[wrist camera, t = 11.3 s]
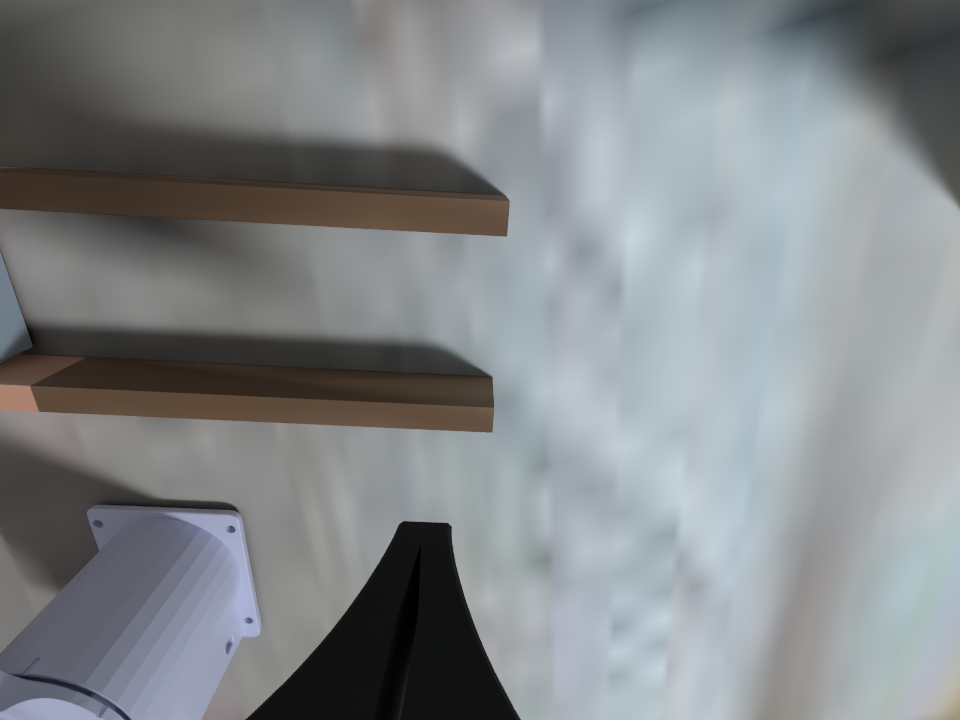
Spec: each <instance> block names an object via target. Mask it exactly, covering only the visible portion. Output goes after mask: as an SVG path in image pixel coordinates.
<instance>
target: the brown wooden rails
mask: <svg viewBox="0 0 960 720" xmlns="http://www.w3.org/2000/svg"><path fill="white" fill-rule="evenodd" d="M509 202H510V201H509V200H508V198H507V197H506V195H494V194H477V193H459V192H442V191H424V190H407V189H389V188H372V187H354V186H337V185H319V184H301V183H284V182H266V181H249V180H231V179H214V178H196V177H179V176H161V175H144V174H126V173H109V172H91V171H74V170H56V169H38V168H21V167H3V166H0V209H19V210H37V211H55V212H73V213H91V214H109V215H127V216H146V217H164V218H182V219H200V220H218V221H236V222H254V223H273V224H291V225H309V226H327V227H345V228H363V229H381V230H399V231H418V232H436V233H454V234H472V235H490V236H507V229H508V215H509ZM0 410H15V411H37V412H59V413H80V414H102V415H124V416H145V417H167V418H189V419H210V420H232V421H254V422H276V423H297V424H319V425H341V426H362V427H384V428H406V429H427V430H449V431H471V432H492V429H493V416H494V397H493V380H492V377H480V376H459V375H439V374H418V373H398V372H377V371H357V370H336V369H316V368H295V367H274V366H254V365H233V364H213V363H192V362H172V361H151V360H131V359H110V358H89V357H69V356H48V355H28V354H20V355H18V356H15V357H13V358H11V359H8V360H6V361H4V362H1V363H0Z"/></svg>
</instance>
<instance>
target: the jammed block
mask: <svg viewBox="0 0 960 720" xmlns="http://www.w3.org/2000/svg"><path fill="white" fill-rule="evenodd" d="M31 347H33V345H32V342H31V339H30V336H29V333H28V330H27V328H26V325H25V322H24V319H23V316H22V313H21V310H20V307H19V304H18V301H17V299H16V296H15V293H14V290H13V287H12V284H11V281H10V278H9V275H8V272H7V270H6V267H5V264H4V261H3V258H2V255H1V252H0V360H3V359H5V358H8V357H10V356H12V355H15V354H17V353H19V352H22V351H24V350H27V349H29V348H31Z"/></svg>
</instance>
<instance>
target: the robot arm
mask: <svg viewBox="0 0 960 720" xmlns="http://www.w3.org/2000/svg"><path fill="white" fill-rule="evenodd" d="M87 517H88V520H89V523H90V526H91V529H92V532H93V535H94V538H95V540H96V543H97V546H98V549H99V552H98V553H97V554H96V555H95V556H94V557H93V558H92V559H91V560H90V561H89V562H88V563H87V564H86V565H85V566H84V567H83V568H82V569H81V570H80V571H79V573H78V574H77V575H76V576H75V577H74V578H73V579H72V580H71V581H70V582H69V583H68V584H67V585H66V586H65V587H64V588H63V589H62V590H61V591H60V592H59V593H58V594H57V595H56V596H55V597H54V598H53V599H52V600H51V601H50V602H49V603H48V604H47V606H46V607H45V608H44V609H43V610H42V611H41V612H40V613H39V614H38V615H37V616H36V617H35V618H34V619H33V620H32V621H31V622H30V623H29V624H28V625H27V626H26V627H25V628H24V629H23V630H22V631H21V632H20V633H19V634H18V636H17V637H15V639H14V640H13V641H12V642H11V643H10V644H9V645H8V646H7V647H6V648H5V649H4V650H3V651H2V652H1V653H0V720H201V719H202V717H203V715H204V713H205V711H206V709H207V707H208V705H209V703H210V701H211V699H212V697H213V695H214V693H215V691H216V689H217V687H218V685H219V683H220V681H221V679H222V677H223V675H224V673H225V671H226V669H227V667H228V665H229V663H230V661H231V659H232V657H233V655H234V653H235V651H236V649H237V647H238V645H239V643H240V641H241V639H242V637H256V636H258V635H259V634H260V632H261V630H262V625H261V620H260V614H259V609H258V604H257V598H256V593H255V587H254V582H253V577H252V571H251V566H250V560H249V555H248V550H247V544H246V539H245V533H244V528H243V523H242V518H241V515H240V514H239V513H238V512H236V511H233V510H214V509H191V508H167V507H143V506H119V505H94V506H92V507H91V508H90V509H89V510H88V511H87ZM231 526H233V527H234V528H233V527H231ZM451 532H452V527H451V526H450V525H449V524H448V523H432V522H407V521H403V522H402V523H400V524H399V526H398V528H397V531H396V533H395V535H394V537H393V539H392V541H391V543H390V545H389V546H388V548H387V550H386V552H385V554H384V555H383V557H382V559H381V561H380V562H379V564H378V565H377V567H376V569H375V570H374V572H373V573H372V575H371V576H370V578H369V580H368V581H367V583H366V584H365V586H364V587H363V589H362V590H361V592H360V593H359V594H358V596H357V597H356V598H355V600H354V601H353V603H352V604H351V605H350V607H349V608H348V610H347V611H346V612H345V614H344V615H343V616H342V618H341V619H340V620H339V622H338V623H337V624H336V625H335V627H334V628H333V629H332V630H331V632H330V633H329V634H328V635H327V636H326V638H325V639H324V640H323V641H322V642H321V644H320V645H319V646H318V647H317V648H316V649H315V650H314V651H313V653H312V654H311V655H310V656H309V657H308V658H307V659H306V660H305V661H304V662H303V664H302V665H301V666H300V667H299V668H298V669H297V670H296V671H295V672H294V673H293V674H292V675H291V676H290V677H289V678H288V679H287V680H286V682H285V683H284V684H283V685H281V686H280V687H279V688H278V689H277V690H276V691H275V692H274V693H273V694H272V695H271V696H270V697H269V698H268V699H267V700H266V701H265V702H264V703H263V704H262V705H261V706H260V707H259V708H258V709H256V710H255V711H254V712H253V713H252V714H251V715H250V716H249V717H248V718H247V719H246V720H521V719H520V718H519V716H518V714H517V713H516V711H515V709H514V707H513V705H512V704H511V702H510V700H509V698H508V696H507V694H506V692H505V690H504V689H503V687H502V685H501V683H500V681H499V679H498V677H497V675H496V673H495V671H494V669H493V667H492V665H491V663H490V661H489V658H488V656H487V654H486V652H485V649H484V647H483V645H482V642H481V640H480V638H479V635H478V633H477V630H476V628H475V625H474V623H473V620H472V617H471V614H470V611H469V608H468V606H467V603H466V600H465V596H464V593H463V590H462V586H461V583H460V579H459V575H458V572H457V567H456V563H455V558H454V553H453V546H452V534H451Z"/></svg>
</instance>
